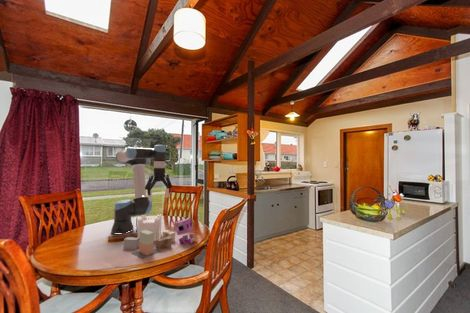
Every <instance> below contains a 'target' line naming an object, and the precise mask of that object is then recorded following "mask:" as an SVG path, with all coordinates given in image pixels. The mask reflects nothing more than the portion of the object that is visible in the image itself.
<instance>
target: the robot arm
mask: <svg viewBox="0 0 470 313" xmlns="http://www.w3.org/2000/svg"><path fill="white" fill-rule="evenodd" d="M166 148H167V147H166V145H162V144H155V145H154V147H153V148H152V147H151V148H150V147H134V146H131V147H129V146H128V147H127V148H126V149H125V150H121V151H118V152H117V153H116V154H115V159H116V161H117V162H118V163H120V164H122V165H130V167H131V168H132V171H133V175H132V176H133V186H134V197H133V200H132V199H122V200H118V201H116V202H115V204H114V209H113V210H114V213H113V225H112V227H111V230H110V233H111V234H112V233H126V232H128V231H131V230H133V231H134V225H133V222H132V217H138V216H142V215H149V214H150V213H151V211H152V208H153V207H152V206H153V202H152V201H153V190H152V189H153V187H154V186H155V184H156V183H158V182H162V183H163V185H164V186H165V196H164V197H165V198H166V199H167V198H170V196H169V194H170V190H171V188H172V187H173V184H172V182H171V180H170V176H169V174H168V173H166V157H167V156H166V155H167V154H166V153H167V149H166ZM149 160H153V167H154V168H153V174H150V175H149V178H148V180H147V182H146V175H145V168H146V166H147V164H148V162H149Z"/></svg>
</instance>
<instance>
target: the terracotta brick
mask: <svg viewBox="0 0 470 313" xmlns="http://www.w3.org/2000/svg"><path fill="white" fill-rule="evenodd" d="M138 248H139V249H138V251H139V252H140V253H143V254H145V255H150V254H152V253H153V249H154V243H152V244H149V245H146V244H144V243H141V242H139V247H138Z"/></svg>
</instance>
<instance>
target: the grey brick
mask: <svg viewBox="0 0 470 313" xmlns="http://www.w3.org/2000/svg"><path fill="white" fill-rule="evenodd" d="M139 240H140V238H138V237H132V236H131V237H130V236H127V237H125V238H124V239H123V249H127V250H128V249H129V250H137V249H138V248H139Z"/></svg>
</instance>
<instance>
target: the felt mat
mask: <svg viewBox="0 0 470 313" xmlns="http://www.w3.org/2000/svg"><path fill="white" fill-rule="evenodd" d="M161 252H162V251H161V250H158V249H157V248H153V253H152V254H150V255H145V254H143V253H140V252H139V250H136V251H133V252H131V253H130V254H131V255H133V256H135V257H137V258H140V259H142V260H145V259H147V258H149V257H152V256H154V255H156V254H159V253H161Z"/></svg>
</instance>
